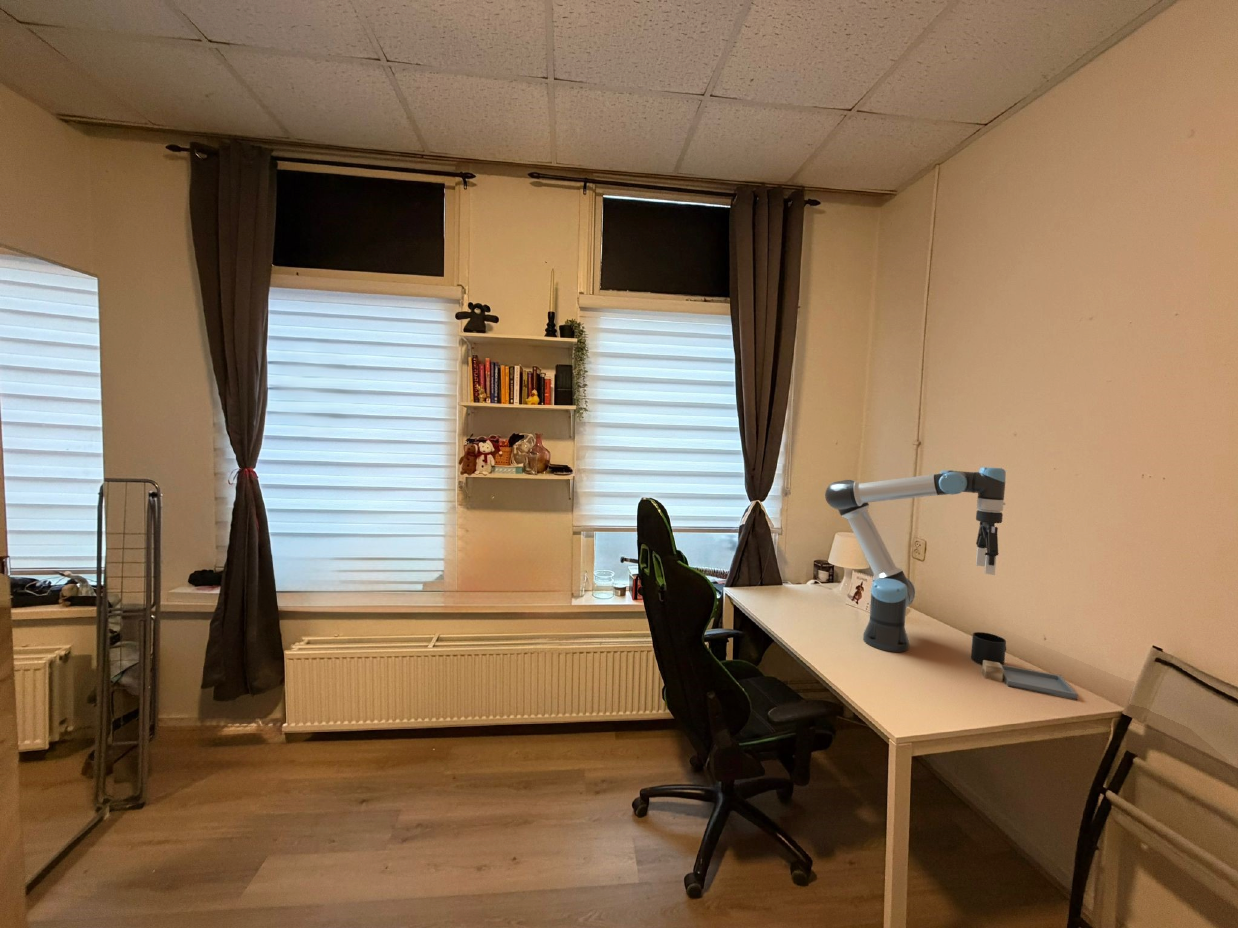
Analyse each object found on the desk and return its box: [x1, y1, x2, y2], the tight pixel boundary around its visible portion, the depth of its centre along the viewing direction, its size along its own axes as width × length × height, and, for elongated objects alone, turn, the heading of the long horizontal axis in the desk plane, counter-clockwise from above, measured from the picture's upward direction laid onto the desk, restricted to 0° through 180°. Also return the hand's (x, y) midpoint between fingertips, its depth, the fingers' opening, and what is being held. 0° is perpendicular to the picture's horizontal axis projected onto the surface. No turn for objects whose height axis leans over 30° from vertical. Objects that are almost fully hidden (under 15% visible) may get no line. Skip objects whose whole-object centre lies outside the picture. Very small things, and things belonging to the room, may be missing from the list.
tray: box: [1001, 664, 1079, 701], centre depth 161 cm, size 17×14×2 cm
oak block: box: [981, 660, 1003, 683], centre depth 165 cm, size 4×4×4 cm
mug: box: [970, 631, 1007, 666], centre depth 176 cm, size 9×12×9 cm
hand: (985, 569), depth 179 cm, fingers open, 13 cm apart
